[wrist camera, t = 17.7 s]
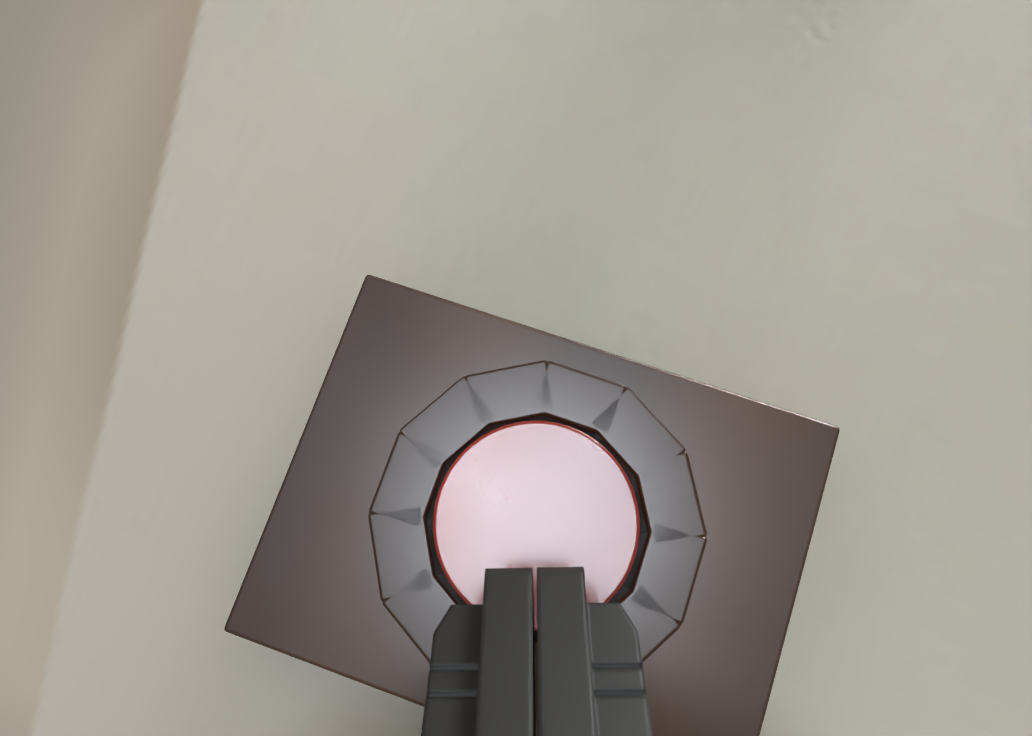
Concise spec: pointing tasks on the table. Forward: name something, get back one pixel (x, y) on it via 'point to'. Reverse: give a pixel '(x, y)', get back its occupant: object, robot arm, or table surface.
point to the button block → (516, 398)
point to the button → (536, 510)
